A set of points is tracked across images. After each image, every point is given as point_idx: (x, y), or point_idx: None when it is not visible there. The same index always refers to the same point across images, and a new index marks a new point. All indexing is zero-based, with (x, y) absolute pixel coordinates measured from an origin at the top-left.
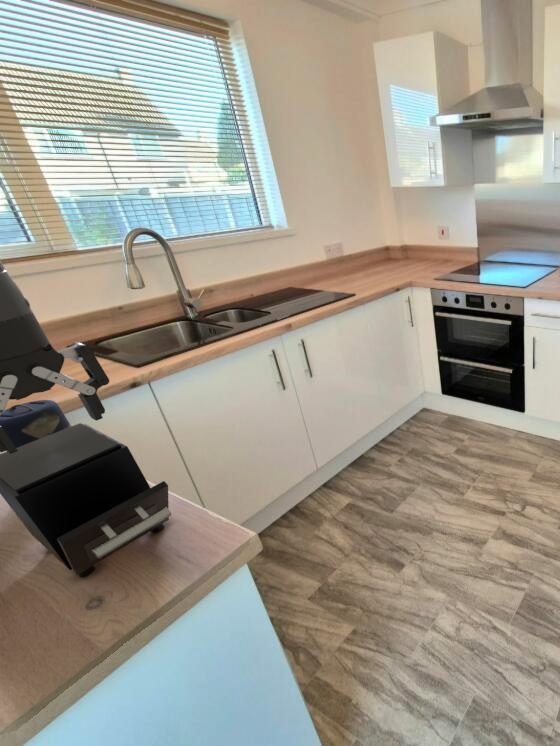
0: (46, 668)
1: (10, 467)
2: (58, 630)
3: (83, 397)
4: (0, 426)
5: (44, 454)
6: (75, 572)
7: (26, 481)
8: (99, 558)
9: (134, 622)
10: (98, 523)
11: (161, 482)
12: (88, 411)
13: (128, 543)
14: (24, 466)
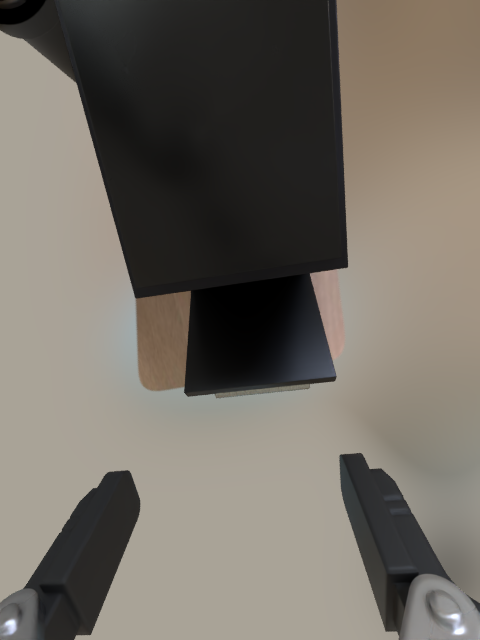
0: (161, 363)
1: (121, 124)
2: (172, 324)
3: (385, 618)
4: (86, 631)
5: (193, 117)
6: None
7: (153, 265)
8: None
9: None
10: (231, 391)
11: (331, 377)
12: (350, 488)
13: None
14: (149, 159)
